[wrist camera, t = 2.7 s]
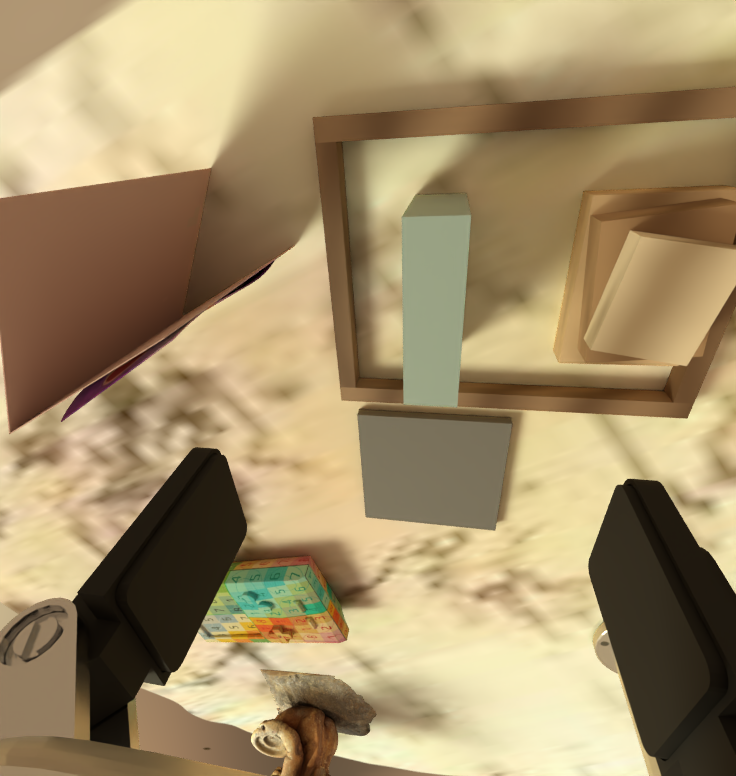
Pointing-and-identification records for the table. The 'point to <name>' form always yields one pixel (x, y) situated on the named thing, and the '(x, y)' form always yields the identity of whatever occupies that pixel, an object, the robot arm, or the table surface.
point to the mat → (433, 467)
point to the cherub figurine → (309, 721)
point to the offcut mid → (612, 229)
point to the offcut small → (662, 297)
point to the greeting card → (95, 285)
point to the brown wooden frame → (501, 119)
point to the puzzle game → (275, 604)
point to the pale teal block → (434, 296)
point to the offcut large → (575, 279)
